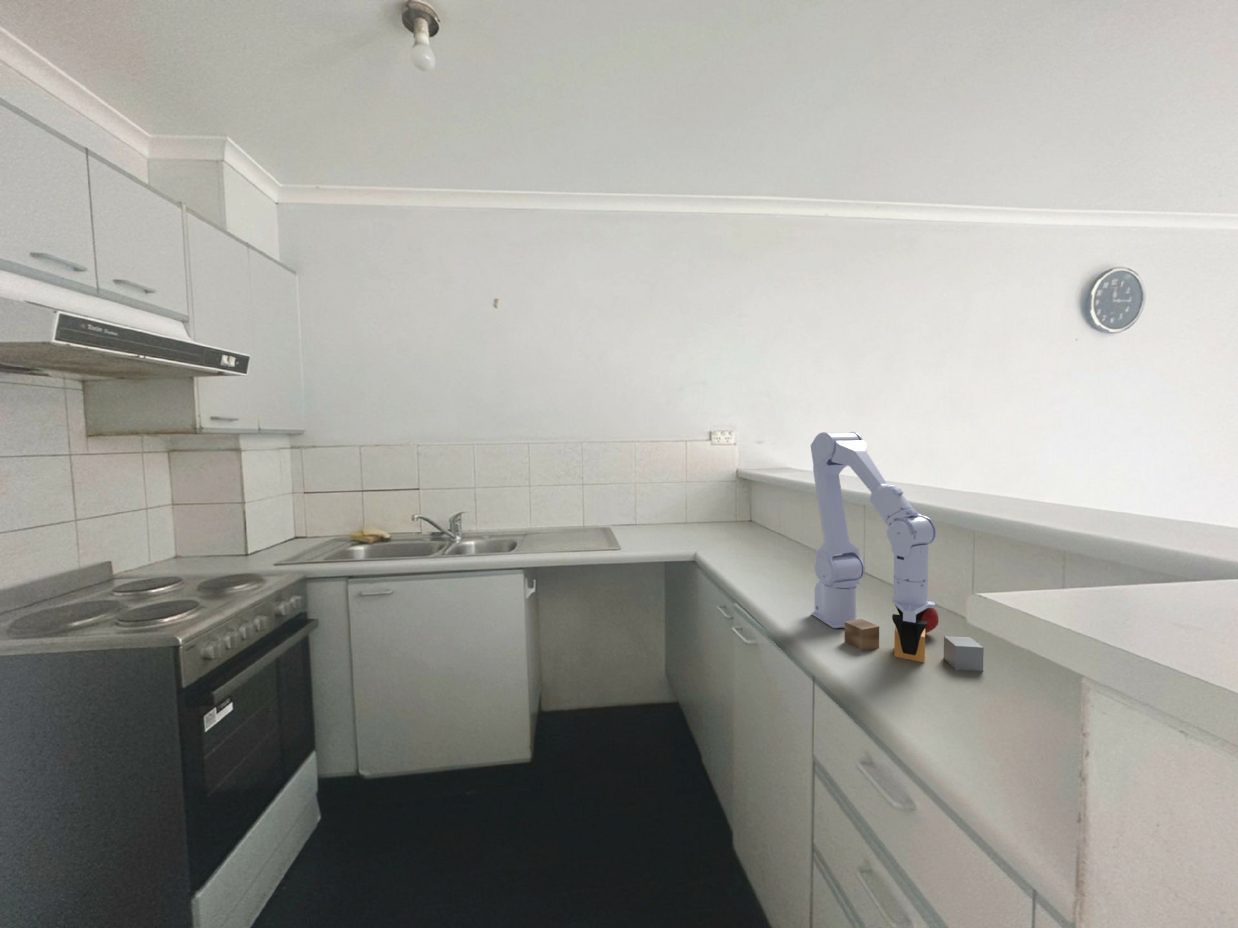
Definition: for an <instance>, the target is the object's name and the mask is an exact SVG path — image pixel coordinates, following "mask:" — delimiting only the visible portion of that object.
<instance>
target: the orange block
mask: <svg viewBox="0 0 1238 928" xmlns="http://www.w3.org/2000/svg"><path fill="white" fill-rule="evenodd" d="M893 655H894V657H895V658H901V659H907V660H909V661H910V660H911V661H915V662H921V663H926V660H925V659H926V633H925V629H924V631H923V632H922V634H921V637H920V640H919V645H918V649H917V653H916V655H910V654H905V653H903V651H902V648H901V643H900V637H899V633H898V630H897V628H896V626H894V653H893Z"/></svg>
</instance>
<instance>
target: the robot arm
mask: <svg viewBox="0 0 1238 928" xmlns="http://www.w3.org/2000/svg"><path fill="white" fill-rule="evenodd" d="M867 450H868V444H867V442H866V441H864V439H863V437H862V435H860V434H859V433H858V432H856V431H851V432H824V431H823V432H820V433H818V434H817V435H816V436H815V437H814V438H813V440H812V442H811V443H810V452H811V457H812V464H813V465H812V466H813V467H812V469H813V470H812V471H813V478H814V484H815V492H816V500H817V505H818V511H819V512H818V513H819V519H820V525H821V526H820V527H821V532H822V538H823V543H822V544H821V545H820V546H819V547H818V548H817V550H815V552H814V555H815V563H814V573H815V576H816V577H817V579H818V581H817V583H815V586H814V611H811V613H810V614H811V615H812V616H814V617H815V618H817V619H819V620H820V621H822V622H823V623H825V624H826V625H828V626H829V627H831V628H832V629H845V622H846V621H851V620H857V619H858V618H857V610H858V608H857V607H858V605H857V602H858V601H857V598H858V596H857V595H858V593H857V591H858V585H859V584H860V580H862V579H863V577H865V574H866V567H865V562H864V561H863V559H862V557H861V554H860V549H859V548H858V547H857V545H855V544H854V543H852V542H851V541H850V538H849V531H848V524H847V520H846V519H847V518H846V513H845V512H846V511H845V505H844V500H843V493H842V486H841V482H840V481H841V479H840V474H841V472H842V471H844V469H845V468H846V467H849V468H851V470H852V471H853V472H854V474H856V477H858V478H859V479H860V481H862V483H863V484H864V486H866V488H867V490H869V491H870V493H871V494H870V497H869V501H870V503H871V504H872V506H873V507H874V508H875V510H876V511H877V512H878V514H879V516H880V517H881V519H882V520H883V521H884V523H885V524H886V526H887V527H888V529H886V536H887V537H886V538H888V541H889V542H890V544H891V552H892V554H893V596H892V598H891V599H892V603H893V604H894V606H895V608H896V610H897V612H898V614H896V613H892V616H891V619H892V622H893V624H894V625H895V626H896V628H897V630H898V633H899V637H900V643H901V648H902V651H903V653H905V654H910V655H916V653H917V649H918V645H919V640H920V637H921V634H922V632H923V631H924V629H925V628H926V626H927V621H923V620H921V619H922V617H923V615H924V613H925V611H926V610H927V608H934V609H936V608H935V606H936V603H935V601H930V600H928V596H929V593H928V591H929V589H928V588H929V545H930V544H932V543H933V542H934V540H935V539H936V535H937V531H936V530H937V529H936V526H935V524H934V522H933V521H932V519H931V518H929V517H928V516H926V515H922V514H920V513H919V511H917V510H916V509H915V508H914V507H913V506H912V505H911V503H909V501H908V499H907V498H906V497H905V495H904V491H903V490H902V489H901V488H899V487H897V486H896V485H893V484H892V485H891V484H888V483H887V481H886V480H885V478H884V477H883V475H882V474H881V472H880V470H879V469H878V467H877V466H876V464H875V462H874V461H873V459H872V457H871V456H870V454H869V453H868V451H867ZM895 626H894V627H895Z"/></svg>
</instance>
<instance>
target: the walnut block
mask: <svg viewBox="0 0 1238 928" xmlns="http://www.w3.org/2000/svg"><path fill="white" fill-rule="evenodd" d="M844 643H845V644H847V645H848V646H851V647H853V648H854V649H857V650H859V651H861V652H865V651H870V650H875V649H879V648H880V626H879V625H877V624H874V623H872V622H870V621H867V620H865V619H863V618H859V619H858V618H857V620H851V621H846V622H845V628H844Z"/></svg>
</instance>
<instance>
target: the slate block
mask: <svg viewBox="0 0 1238 928" xmlns="http://www.w3.org/2000/svg"><path fill="white" fill-rule="evenodd" d="M984 650H985V649H984V646H982V645H981V644H980V643H979V642H977V641H975V639H973V638H972V637H970V636H955V635H954V636H951V635H950V636H949V635H944V636H943V659H944V660H945V661H946V662H947V663H948V664H949V665H950V666H952V668H953V669H954V670H957V671H973V672H974V671H976V672H984Z"/></svg>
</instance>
